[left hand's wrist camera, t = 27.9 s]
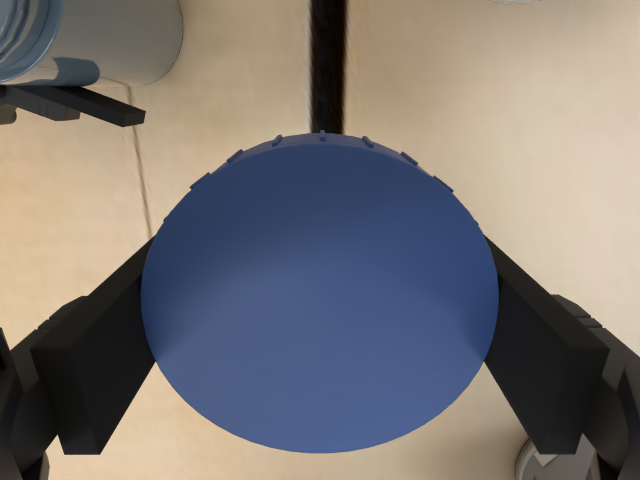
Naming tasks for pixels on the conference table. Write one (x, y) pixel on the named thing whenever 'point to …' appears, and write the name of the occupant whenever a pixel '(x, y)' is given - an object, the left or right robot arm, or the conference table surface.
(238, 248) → the lid
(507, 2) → the projector
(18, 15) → the jar
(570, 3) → the conference table surface
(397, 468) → the conference table surface
